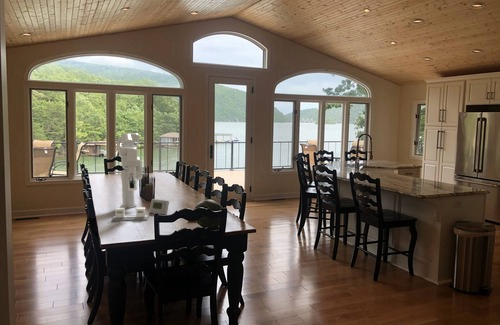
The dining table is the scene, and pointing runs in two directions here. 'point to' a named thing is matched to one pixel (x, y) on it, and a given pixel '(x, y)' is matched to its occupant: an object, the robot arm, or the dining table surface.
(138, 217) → the rail panel
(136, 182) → the module
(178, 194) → the dining table surface
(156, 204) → the digital clock
